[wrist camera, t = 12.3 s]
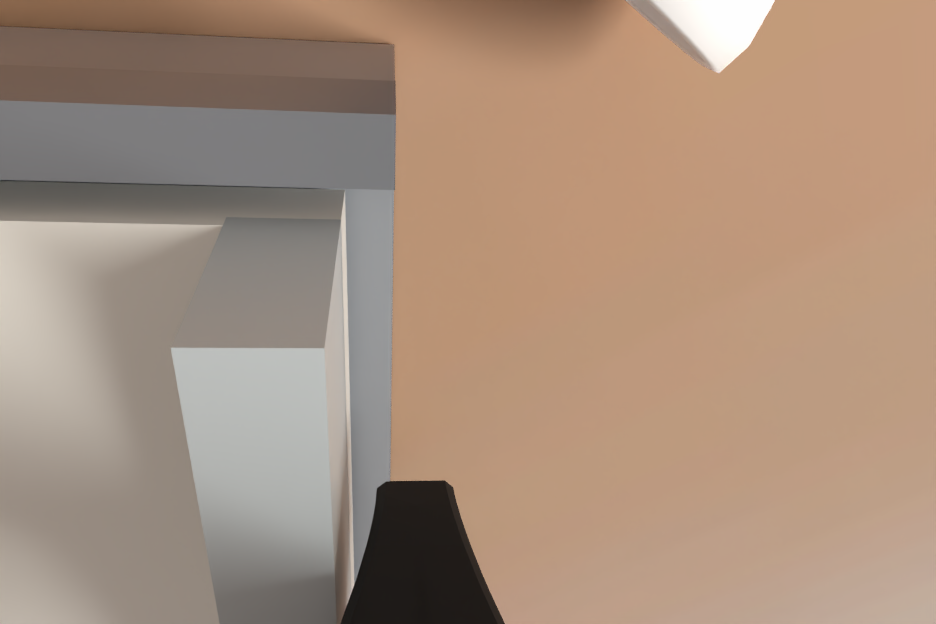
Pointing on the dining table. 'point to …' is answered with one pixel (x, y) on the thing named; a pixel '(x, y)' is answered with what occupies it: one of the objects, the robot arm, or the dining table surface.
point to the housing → (229, 157)
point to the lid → (174, 405)
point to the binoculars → (707, 26)
